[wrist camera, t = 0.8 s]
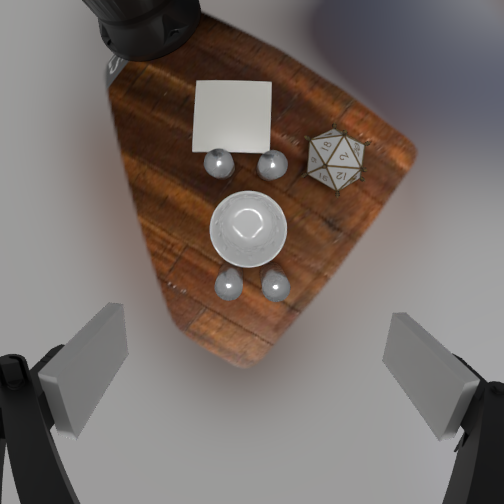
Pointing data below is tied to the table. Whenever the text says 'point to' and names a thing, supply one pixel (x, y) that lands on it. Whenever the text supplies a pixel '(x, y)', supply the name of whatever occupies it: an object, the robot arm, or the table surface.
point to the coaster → (232, 116)
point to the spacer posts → (232, 275)
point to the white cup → (248, 229)
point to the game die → (335, 159)
